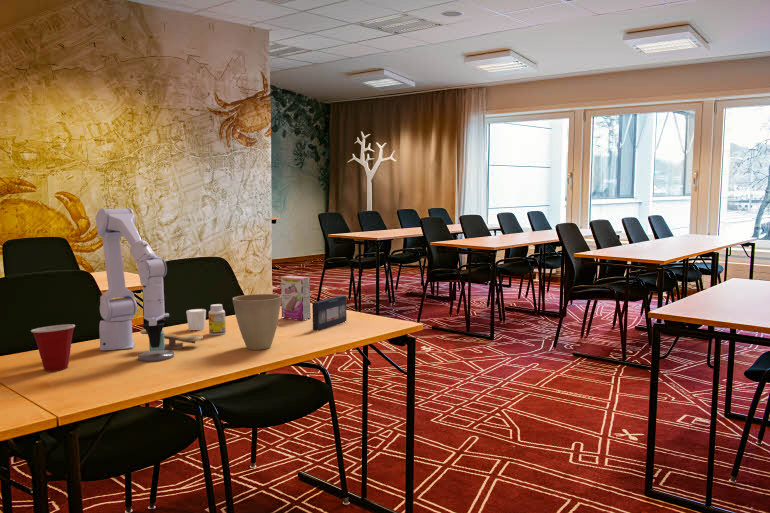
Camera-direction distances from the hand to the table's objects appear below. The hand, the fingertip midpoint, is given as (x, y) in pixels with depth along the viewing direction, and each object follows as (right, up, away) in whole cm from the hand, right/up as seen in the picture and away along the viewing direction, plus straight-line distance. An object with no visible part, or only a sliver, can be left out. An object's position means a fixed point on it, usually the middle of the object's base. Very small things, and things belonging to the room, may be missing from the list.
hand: (155, 345), depth 181 cm
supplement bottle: (+9, -1, +32) cm, 34 cm away
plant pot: (+28, -2, +12) cm, 30 cm away
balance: (+1, -3, +12) cm, 12 cm away
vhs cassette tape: (+48, +1, +44) cm, 65 cm away
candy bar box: (+33, +2, +59) cm, 67 cm away
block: (0, -1, 0) cm, 1 cm away
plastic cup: (-24, -5, -11) cm, 27 cm away
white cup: (0, 0, +41) cm, 41 cm away
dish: (0, -4, 0) cm, 4 cm away
